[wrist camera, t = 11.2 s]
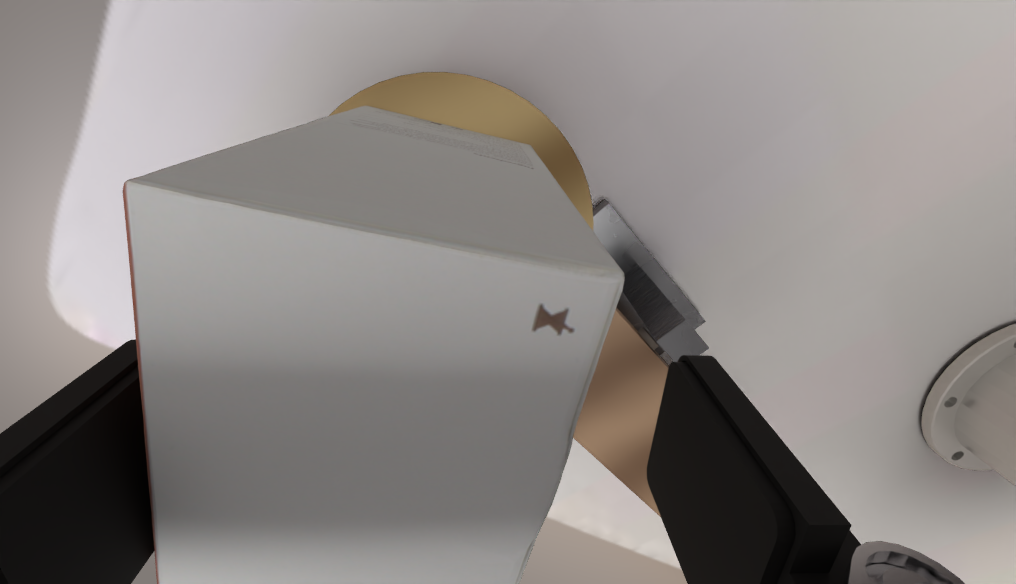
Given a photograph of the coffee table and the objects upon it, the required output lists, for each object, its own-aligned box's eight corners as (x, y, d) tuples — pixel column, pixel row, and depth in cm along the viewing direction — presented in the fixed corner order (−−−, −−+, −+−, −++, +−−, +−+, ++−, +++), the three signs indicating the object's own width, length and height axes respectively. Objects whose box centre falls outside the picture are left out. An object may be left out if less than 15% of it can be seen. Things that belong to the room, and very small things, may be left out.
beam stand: (698, 314, 31) (768, 388, 23) (553, 420, 33) (575, 517, 26) (604, 199, 27) (651, 244, 20) (451, 328, 30) (444, 409, 23)
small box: (361, 102, 17) (103, 160, 5) (534, 142, 18) (646, 271, 6) (340, 304, 20) (148, 627, 8) (488, 330, 21) (504, 654, 9)
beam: (817, 452, 29) (901, 546, 23) (653, 553, 32) (692, 659, 26) (449, 0, 18) (437, -34, 13) (251, 211, 21) (167, 262, 15)
